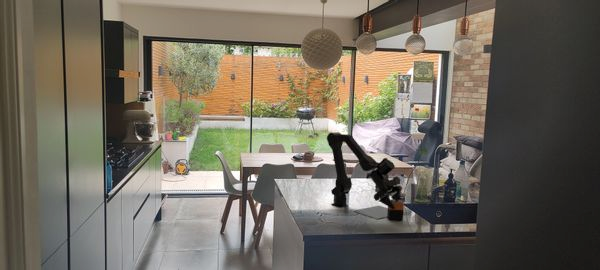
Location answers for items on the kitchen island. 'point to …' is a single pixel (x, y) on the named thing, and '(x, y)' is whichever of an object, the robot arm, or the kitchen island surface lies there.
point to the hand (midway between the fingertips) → (398, 207)
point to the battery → (396, 211)
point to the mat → (374, 212)
